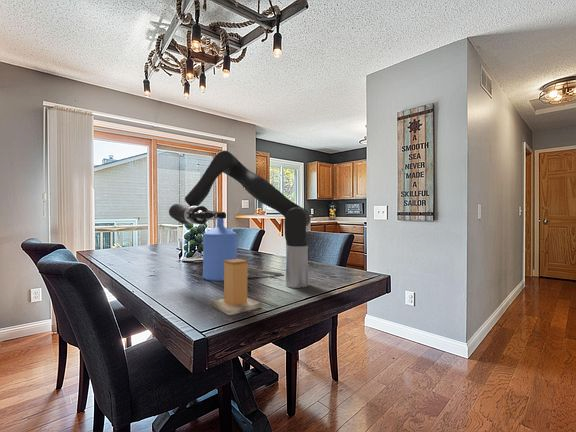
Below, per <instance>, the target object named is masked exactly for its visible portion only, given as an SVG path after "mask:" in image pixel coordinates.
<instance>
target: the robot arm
mask: <svg viewBox="0 0 576 432" xmlns="http://www.w3.org/2000/svg"><path fill="white" fill-rule="evenodd" d="M222 173H223V174H225V175H227V176H229V177H230V178H232V179H234V180H235V181H236V182H238V183H240V185H241V186H242V187H243V188H244V189H245V190H246V192H247V193H248V194H249V195H250V196H252V197H253V199H256V200H257V201H258V202H260V204H263V205H264V206H267V207H268V208H270V209H273V210H274V211H276V212H278V213H279V214H280V215H282V216H283V217H284V239H285V286H286V287H288V288H292V289H293V288H294V289H299V288H300V289H302V288H308V287H309V262H308V250H309V240H308V238H307V226H308V225H309V224H310V221H311V217H310V214H309V211H308V210H306V208H304V207H302V206H301V205H298V204H297V203H295V202H293V200H291V199H290V198H288V197H287V196H285V195H284V194H283V193H282V192H281V191H280V190H279V189H277V188H276V187H275V186H274V185H273V184H272V183H270V182H269V181H268V180H267V179H265V178H264V177H262V176H260V175H259V174H257V173H255V172H253V171H251V170H249V168H247V167H246V166H244V165H243V163H241V161H239V160H238V158H237V156H235V155H234V154H232V153H231V152H230V151H228V150H220V151H218V152H217V153H216V154H215V155H214V157H213V158H212V160H211V162H210V164H209V165H208V166H207V168H206V170H205V172H204V173H203V174H202V176H201V177H200V178H199V180H198V182H197V183H196V184H195V185H194V186H193V188H192V189H191V190H190V191H189V192H188V193H187V195H185V197H184V202H185V203H186V204H187V205H185V204H182V203H178V202H177V203H174V204H172V205H171V206H170V208H168V209H169V210H168V214H169V216H170V218H172V219H174V220H175V221H177V222H179V224H182V225H188V224H193V225H194V224H195V225H203V224H206V223H207V222H208V221H211V220H215V221H217V218H220V219H221V218H223V219H226V218H227V213H226V212H225V211H217V210H208V208H207V207H206V206H205V205H201V203H202V202H204V200H205V199H206V198H207V196H208V195H209V193H210V191H211V189H212V187H213V184H214V182H216V179H217V178H218V177H219V176H220V175H221V174H222ZM307 286H308V287H307ZM301 287H302V288H301Z"/></svg>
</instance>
